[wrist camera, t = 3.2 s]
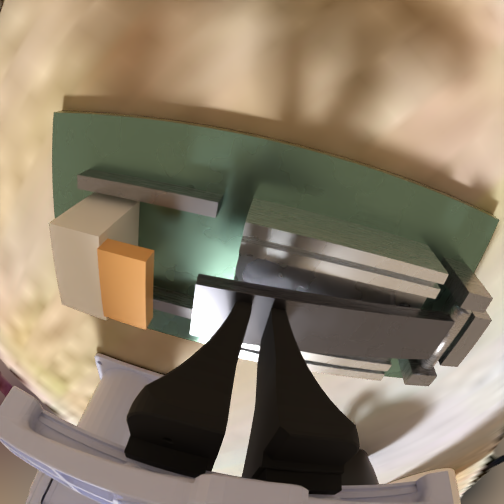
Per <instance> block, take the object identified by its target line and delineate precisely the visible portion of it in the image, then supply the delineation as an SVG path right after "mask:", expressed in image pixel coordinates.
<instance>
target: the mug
mask: <svg viewBox="0 0 504 504" xmlns="http://www.w3.org/2000/svg"><path fill="white" fill-rule="evenodd" d="M341 478H342V486H350V485H377V484H379V483H378V480H377V477H376V474H375V472H374V469H373V467H372V465H371V463H370V461H369V459H368V456H367V453H366V452H365V451H363V450H360V449H359V451H358V452H357V454H356V455H355V456H354V457H353V458H351V459H350V460H349V461H348V462H346V463H345V464H344V473H343V474H341Z"/></svg>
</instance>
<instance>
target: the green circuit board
mask: <svg viewBox="0 0 504 504" xmlns="http://www.w3.org/2000/svg"><path fill="white" fill-rule="evenodd" d="M52 174H53V198H54V213H55V218H57V217H58V216H60V215H61V214H63V213H64V212H65V211H67V210H68V209H70V208H71V207H73V206H74V205H76V204H77V203H79V202H80V201H82V200H83V199H85V198H86V197H88V196H89V195H91V194H93V193H94V192H96V193H101V194H106V195H111V196H116V197H121V198H126V199H130V200H135V201H140V209H139V234H138V246H139V247H143V248H147V249H151V250H155V251H154V277H153V318H152V320H151V322H150V324H149V325H148V327H147V328H149V329H152V330H156V331H159V332H162V333H166V334H169V335H173V336H177V337H180V338H184V339H188V340H191V341H195V342H199V343H203V344H205V343H206V342H207V341H208V340H209V339H210V338H206V337H200V336H195V335H190V328H191V319H192V310H193V302H194V293H195V285H196V281H197V277H198V274H205V275H210V276H215V277H221V278H226V279H232V280H238V281H243V282H249V283H255V284H260V285H266V286H272V287H278V288H284V289H290V290H296V291H302V292H308V293H315V294H321V295H327V296H334V297H340V298H347V299H354V300H360V301H367V302H374V303H381V304H388V305H395V306H403V307H410V308H418V309H425V310H433V311H441V312H450V310H451V309H452V307H453V306H454V304H455V302H457V304H458V305H459V307H460V308H462V309H467V310H471V312H472V313H471V315H470V317H469V318H468V320H467V321H466V323H465V324H464V326H463V327H462V329H461V330H460V331H459V333H458V334H457V336H456V337H455V339H454V340H453V341H452V343H451V344H450V345H449V347H448V348H447V350H446V351H445V352H444V354H443V355H442V356H441V358H440V359H439V360H438V361H439V363H440V365H442V366H454V367H458V365H459V364H460V363H461V362H462V360H463V359H464V358H465V357H466V355H467V354H468V353H469V351H470V350H471V349H472V347H473V346H474V345H475V343H476V342H477V341H478V339H479V338H480V337H481V335H482V334H483V332H484V331H485V330H486V328H487V327H488V325H489V324H490V322H491V321H492V320H491V318H490V317H489V315H488V314H487V312H486V311H485V310H486V309H487V307H488V306H489V304H490V302H491V301H492V299H493V298H492V297H491V295H490V294H489V293H488V291H487V290H486V289H485V287H484V286H483V285H482V283H481V282H480V281H479V279H478V278H477V277H476V275H475V274H474V271H475V269H476V268H477V266H478V264H479V262H480V260H481V258H482V256H483V254H484V252H485V250H486V248H487V246H488V244H489V242H490V239H491V237H492V235H493V233H494V231H495V228H496V226H497V224H498V222H499V219H497V218H496V217H495V216H494V215H492V214H490V213H488V212H486V211H484V210H482V209H480V208H477V207H475V206H473V205H471V204H469V203H466V202H464V201H462V200H459V199H457V198H455V197H452V196H450V195H448V194H445V193H443V192H440V191H438V190H436V189H433V188H431V187H428V186H425V185H423V184H420V183H418V182H415V181H412V180H410V179H407V178H404V177H401V176H399V175H396V174H393V173H390V172H387V171H384V170H382V169H379V168H376V167H373V166H370V165H366V164H363V163H360V162H357V161H354V160H351V159H347V158H344V157H341V156H337V155H334V154H330V153H327V152H323V151H320V150H316V149H312V148H309V147H305V146H301V145H297V144H293V143H289V142H285V141H281V140H277V139H272V138H268V137H264V136H259V135H255V134H250V133H245V132H240V131H235V130H230V129H225V128H219V127H214V126H208V125H202V124H196V123H190V122H183V121H176V120H169V119H161V118H153V117H145V116H135V115H125V114H113V113H100V112H82V111H58V112H54V117H53V141H52ZM259 349H260V346H255V345H248V344H242V348H241V351H240V355H239V358H244V359H248V360H253V361H258V355H259ZM300 352H301V354H302V356H303V358H304V360H305V362H306V364H307V366H308V368H309V369H310V371H312V372H318V373H325V374H331V375H338V376H346V377H354V378H362V379H371V380H381V379H382V378H383V377H384V376H387V377H397V378H403V380H404V384H405V385H420V386H429V385H430V384H431V383H432V382H433V380H434V379H435V378H436V377H437V375H436V372H435V369H434V367H433V368H432V369H425V368H423V367H422V366H421V365H420V364H419V362H418V359H394V358H374V357H358V356H344V355H332V354H322V353H312V352H302V351H300Z"/></svg>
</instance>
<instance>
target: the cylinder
mask: <svg viewBox="0 0 504 504" xmlns="http://www.w3.org/2000/svg"><path fill="white" fill-rule="evenodd" d="M441 471H448V474H449V479H450V485H451V490H452V496H453V502H454V504H461V503H460V496H459V491H458V486H457V480H456V475H455V471H454V469H452V468H442V469H436V470H431V471H426V472H423V473H419V474H415V475H412V476H408V477H405V478H402V479H399V480H396V481H393V482H390V483H388V484H391V483H402V482H411V481H417V480H418V479H419V478H420V477H422V476H424V475H426V474H429V473H435V472H441Z"/></svg>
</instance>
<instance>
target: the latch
mask: <svg viewBox="0 0 504 504" xmlns="http://www.w3.org/2000/svg"><path fill="white" fill-rule="evenodd" d="M139 209H140V201H135V200H130V199H126V198H121V197H116V196H111V195H106V194H101V193H96V192H94V193H93V194H91V195H89V196H88V197H86V198H85V199H83V200H82V201H80V202H79V203H77V204H76V205H74V206H73V207H71V208H70V209H68V210H67V211H65V212H64V213H63V214H61V215H60V216H58V217H57V218H55V219H54V220H53V221H51V222H50V223H49V229H50V237H51V245H52V252H53V259H54V265H55V271H56V277H57V282H58V287H59V292H60V297H61V302H62V304H63V305H65V306H68V307H70V308H73V309H76V310H78V311H81V312H84V313H86V314H89V315H92V316H95V317H97V318H100V319H103V320H106V321H107V319H108V318H111V319H114V320H117V321H120V322H123V323H126V324H129V325H132V326H135V327H138V328H141V329H145V330H146V329H147V327H148V325H149V324H150V322H151V320H152V318H153V277H154V251H155V250H151V249H147V248H143V247H139V246H138V234H139Z"/></svg>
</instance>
